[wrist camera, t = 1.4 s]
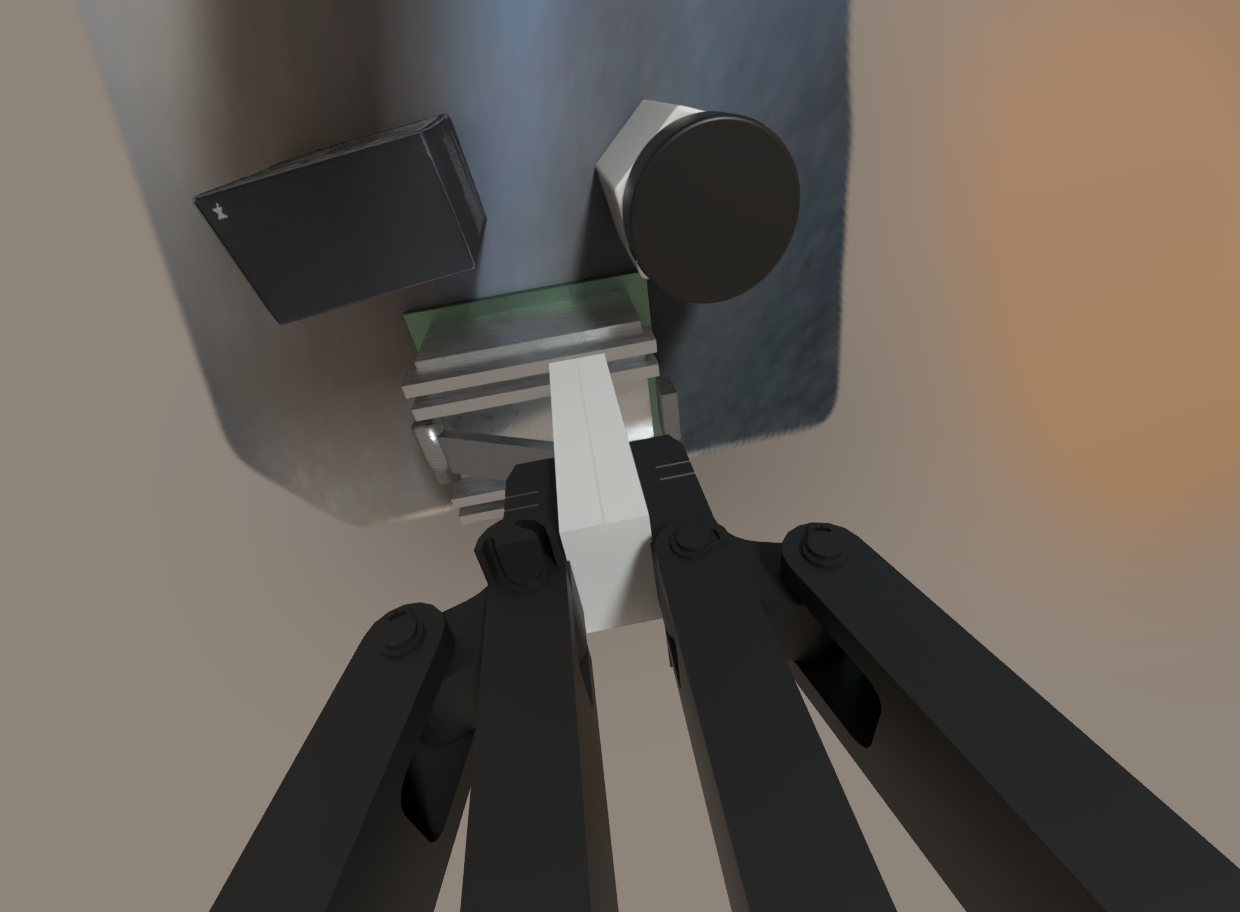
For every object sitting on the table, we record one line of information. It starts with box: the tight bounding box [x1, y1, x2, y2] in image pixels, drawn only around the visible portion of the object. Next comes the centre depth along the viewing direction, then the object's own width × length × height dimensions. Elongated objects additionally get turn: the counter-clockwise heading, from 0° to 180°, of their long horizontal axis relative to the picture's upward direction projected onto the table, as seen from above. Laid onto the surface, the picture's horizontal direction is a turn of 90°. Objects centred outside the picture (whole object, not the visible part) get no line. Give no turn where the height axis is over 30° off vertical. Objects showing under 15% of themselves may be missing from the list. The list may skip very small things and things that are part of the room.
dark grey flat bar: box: [412, 417, 555, 485], centre depth 32 cm, size 14×4×2 cm, turn 98°
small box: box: [193, 114, 487, 325], centre depth 28 cm, size 11×6×10 cm, turn 104°
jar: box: [596, 99, 800, 303], centre depth 29 cm, size 9×8×12 cm
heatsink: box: [401, 270, 681, 525], centre depth 37 cm, size 14×17×9 cm
